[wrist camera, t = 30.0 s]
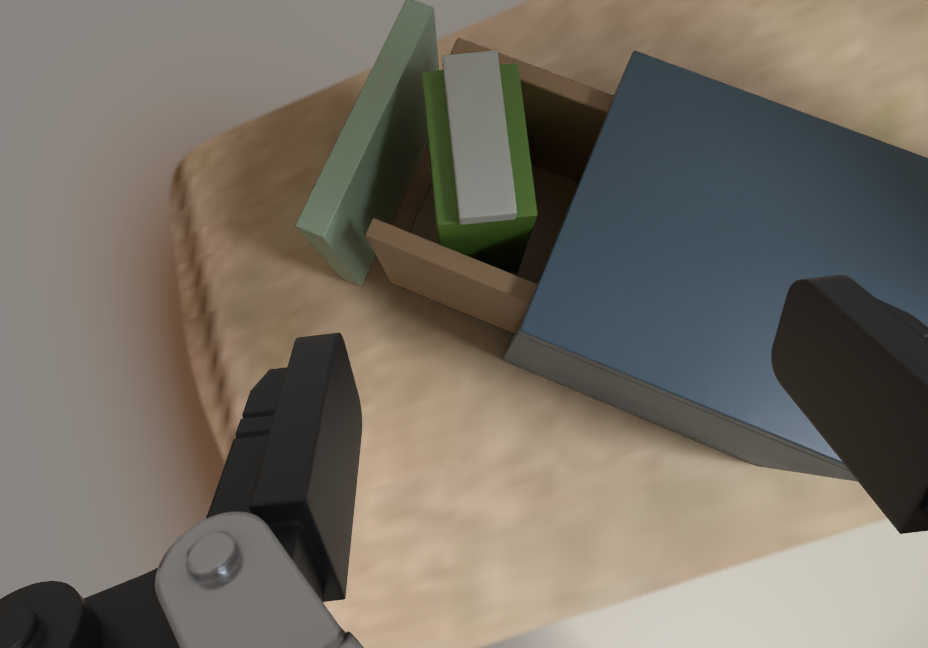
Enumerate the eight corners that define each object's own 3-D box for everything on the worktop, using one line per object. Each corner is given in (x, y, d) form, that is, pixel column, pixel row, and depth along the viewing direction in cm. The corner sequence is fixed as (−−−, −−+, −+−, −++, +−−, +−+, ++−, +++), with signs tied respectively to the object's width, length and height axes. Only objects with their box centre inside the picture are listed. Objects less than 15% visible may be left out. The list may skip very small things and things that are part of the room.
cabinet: (502, 360, 29) (518, 330, 20) (583, 163, 31) (634, 49, 21) (757, 466, 28) (904, 489, 19) (825, 257, 30) (991, 180, 20)
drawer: (319, 269, 29) (265, 213, 21) (401, 95, 31) (379, -14, 23) (570, 373, 28) (609, 354, 20) (642, 188, 30) (703, 107, 22)
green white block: (504, 155, 29) (519, 47, 20) (518, 274, 28) (541, 210, 19) (433, 162, 29) (419, 56, 20) (445, 281, 28) (435, 221, 19)
